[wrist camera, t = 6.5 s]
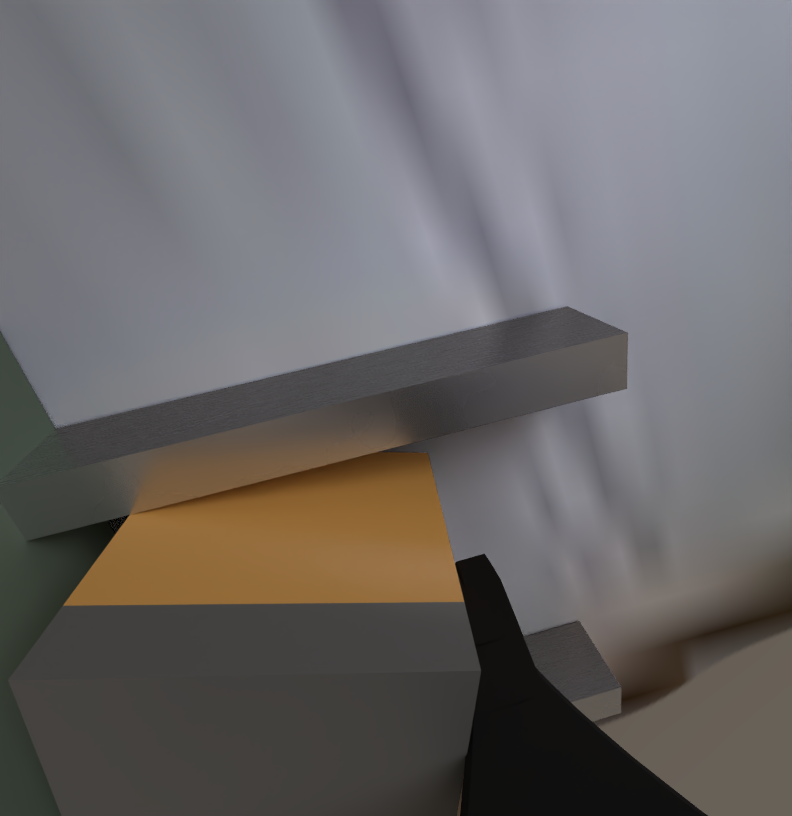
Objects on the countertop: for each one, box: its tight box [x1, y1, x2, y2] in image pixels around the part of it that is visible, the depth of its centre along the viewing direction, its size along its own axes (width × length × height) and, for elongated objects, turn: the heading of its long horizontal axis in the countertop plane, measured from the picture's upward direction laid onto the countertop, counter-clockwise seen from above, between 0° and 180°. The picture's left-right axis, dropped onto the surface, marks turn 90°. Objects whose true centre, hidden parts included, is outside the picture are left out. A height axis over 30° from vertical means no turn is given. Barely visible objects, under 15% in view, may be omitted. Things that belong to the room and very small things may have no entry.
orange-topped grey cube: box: [8, 452, 481, 816], centre depth 8 cm, size 5×5×5 cm
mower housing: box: [0, 306, 628, 816], centre depth 9 cm, size 16×14×5 cm
